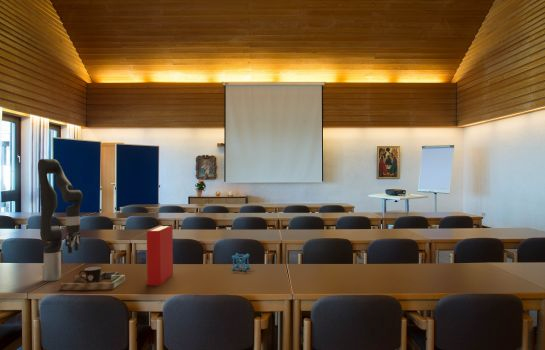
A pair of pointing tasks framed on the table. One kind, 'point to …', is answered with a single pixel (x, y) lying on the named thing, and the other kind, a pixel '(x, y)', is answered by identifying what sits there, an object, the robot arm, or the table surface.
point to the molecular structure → (240, 262)
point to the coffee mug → (92, 274)
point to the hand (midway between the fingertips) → (73, 251)
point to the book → (159, 254)
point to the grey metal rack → (91, 286)
